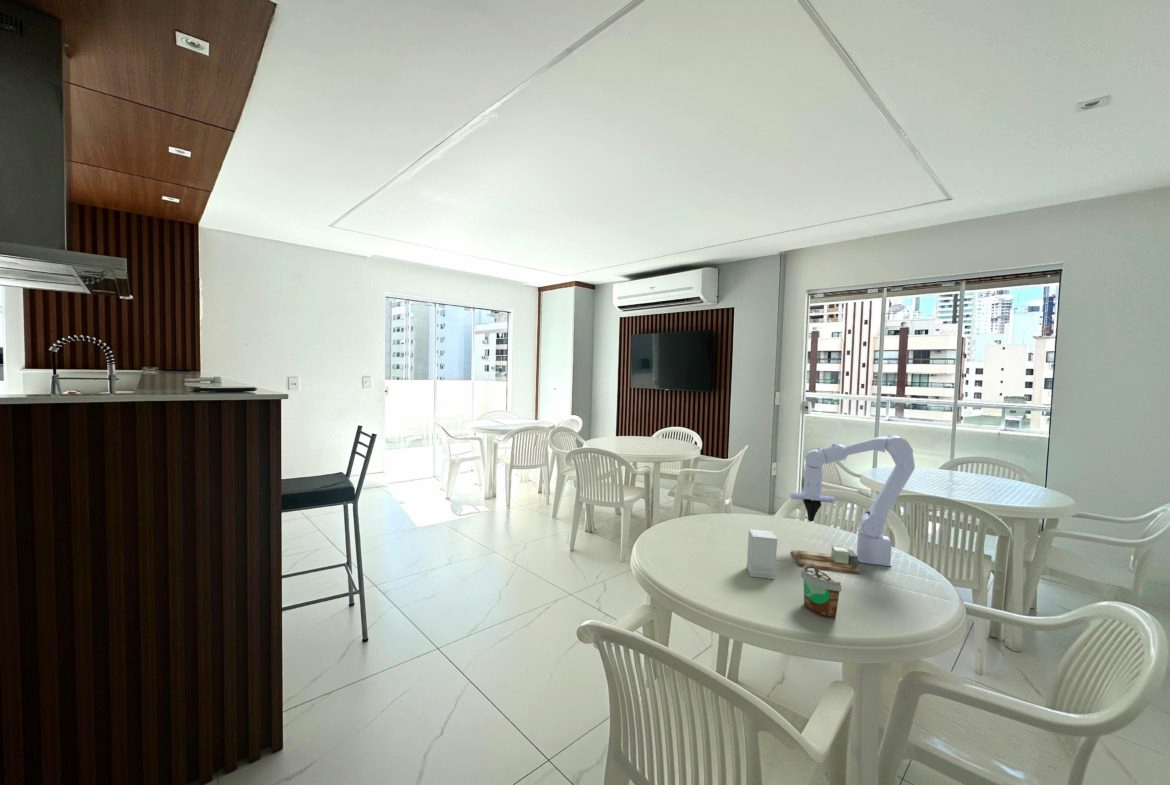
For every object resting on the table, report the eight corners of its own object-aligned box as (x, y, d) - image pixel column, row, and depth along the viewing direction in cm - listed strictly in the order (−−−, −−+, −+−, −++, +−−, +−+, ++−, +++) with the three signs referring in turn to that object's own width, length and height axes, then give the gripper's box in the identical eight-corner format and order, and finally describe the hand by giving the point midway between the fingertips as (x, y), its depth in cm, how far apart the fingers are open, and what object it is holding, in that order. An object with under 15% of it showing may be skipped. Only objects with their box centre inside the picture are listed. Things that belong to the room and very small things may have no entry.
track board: (847, 559, 154) (848, 546, 154) (859, 574, 143) (860, 560, 142) (791, 552, 159) (792, 539, 158) (798, 566, 147) (799, 552, 147)
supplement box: (775, 579, 136) (777, 538, 136) (750, 576, 138) (752, 536, 137) (770, 569, 144) (772, 530, 143) (746, 566, 145) (748, 528, 144)
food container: (790, 597, 125) (792, 562, 125) (810, 597, 126) (813, 562, 125) (816, 621, 113) (818, 583, 113) (839, 621, 114) (841, 583, 113)
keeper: (844, 558, 151) (844, 547, 151) (848, 564, 147) (849, 552, 147) (831, 557, 152) (831, 545, 152) (834, 562, 148) (835, 550, 148)
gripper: (793, 484, 160) (791, 521, 160) (838, 488, 156) (836, 526, 157) (789, 479, 167) (787, 515, 167) (832, 483, 163) (830, 520, 163)
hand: (810, 520), depth 162 cm, fingers closed
